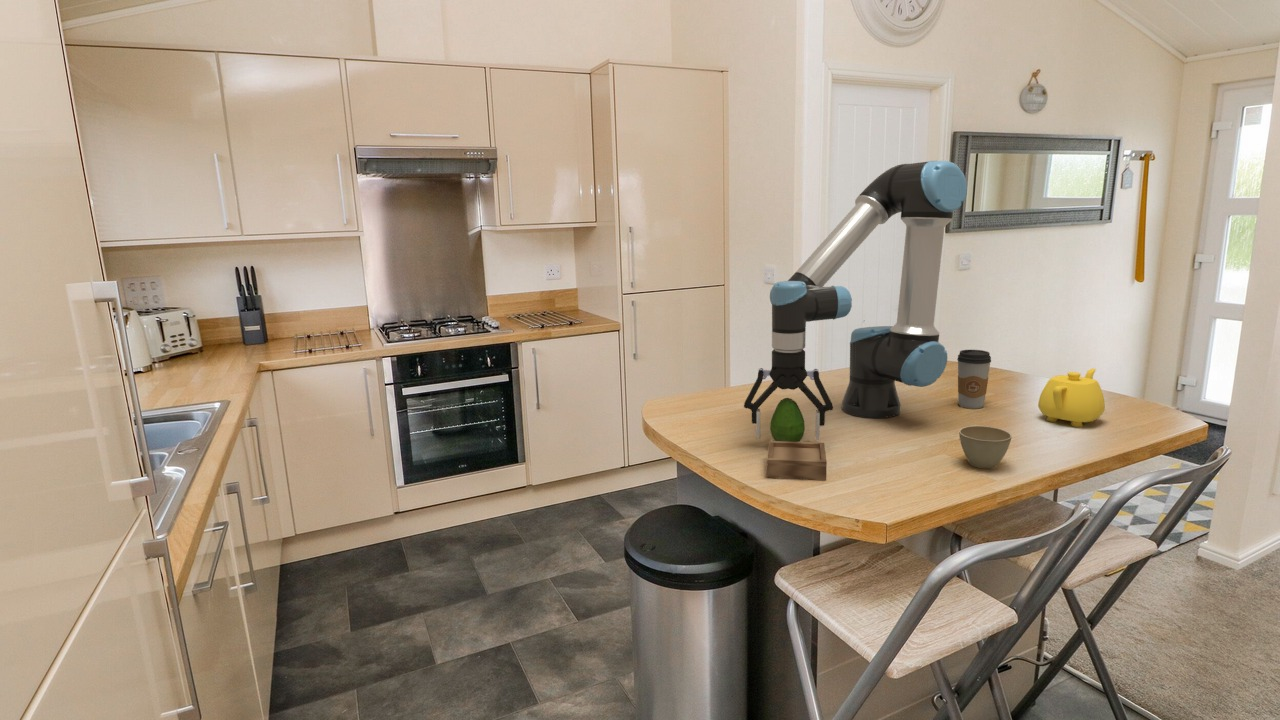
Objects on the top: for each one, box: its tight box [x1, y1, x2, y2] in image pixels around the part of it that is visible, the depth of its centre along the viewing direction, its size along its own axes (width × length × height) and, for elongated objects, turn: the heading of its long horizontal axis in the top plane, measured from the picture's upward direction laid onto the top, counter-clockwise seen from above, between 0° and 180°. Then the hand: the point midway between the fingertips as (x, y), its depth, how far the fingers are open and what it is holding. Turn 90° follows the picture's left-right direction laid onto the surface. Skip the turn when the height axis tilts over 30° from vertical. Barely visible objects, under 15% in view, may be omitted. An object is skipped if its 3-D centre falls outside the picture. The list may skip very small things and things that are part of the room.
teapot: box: [1037, 367, 1106, 428], centre depth 175 cm, size 13×20×12 cm
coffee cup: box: [956, 349, 992, 410], centre depth 190 cm, size 8×8×15 cm
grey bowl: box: [958, 425, 1012, 469], centre depth 149 cm, size 10×10×7 cm
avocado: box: [769, 397, 806, 442], centre depth 163 cm, size 8×8×12 cm
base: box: [766, 440, 828, 481], centre depth 150 cm, size 12×12×4 cm
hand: (787, 437), depth 164 cm, fingers open, 13 cm apart
